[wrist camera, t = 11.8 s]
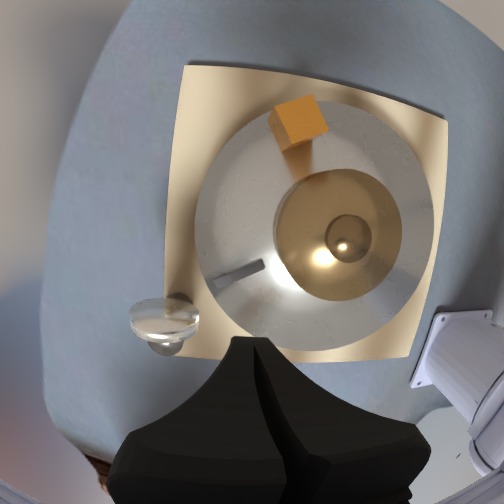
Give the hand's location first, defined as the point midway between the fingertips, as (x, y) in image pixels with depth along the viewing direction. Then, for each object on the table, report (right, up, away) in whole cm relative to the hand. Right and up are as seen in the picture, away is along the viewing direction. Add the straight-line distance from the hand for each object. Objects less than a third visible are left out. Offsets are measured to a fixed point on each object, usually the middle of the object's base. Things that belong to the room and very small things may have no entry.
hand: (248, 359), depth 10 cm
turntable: (+5, +5, +8) cm, 11 cm away
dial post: (-5, 0, +9) cm, 10 cm away
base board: (+5, +6, +9) cm, 11 cm away
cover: (+5, +5, +7) cm, 10 cm away
